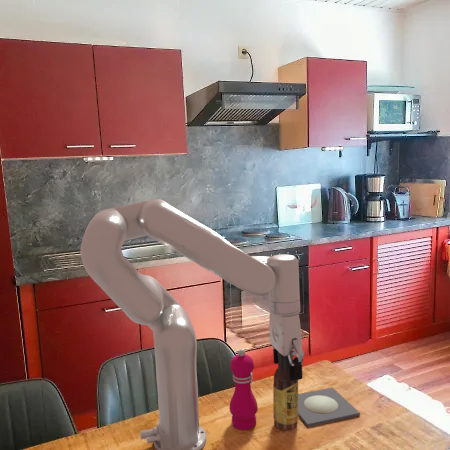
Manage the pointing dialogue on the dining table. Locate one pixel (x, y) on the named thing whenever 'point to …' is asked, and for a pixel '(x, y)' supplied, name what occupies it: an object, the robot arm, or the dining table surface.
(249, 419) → the pepper mill
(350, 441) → the dining table surface
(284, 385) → the sauce bottle
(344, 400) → the bottle mat
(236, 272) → the robot arm
